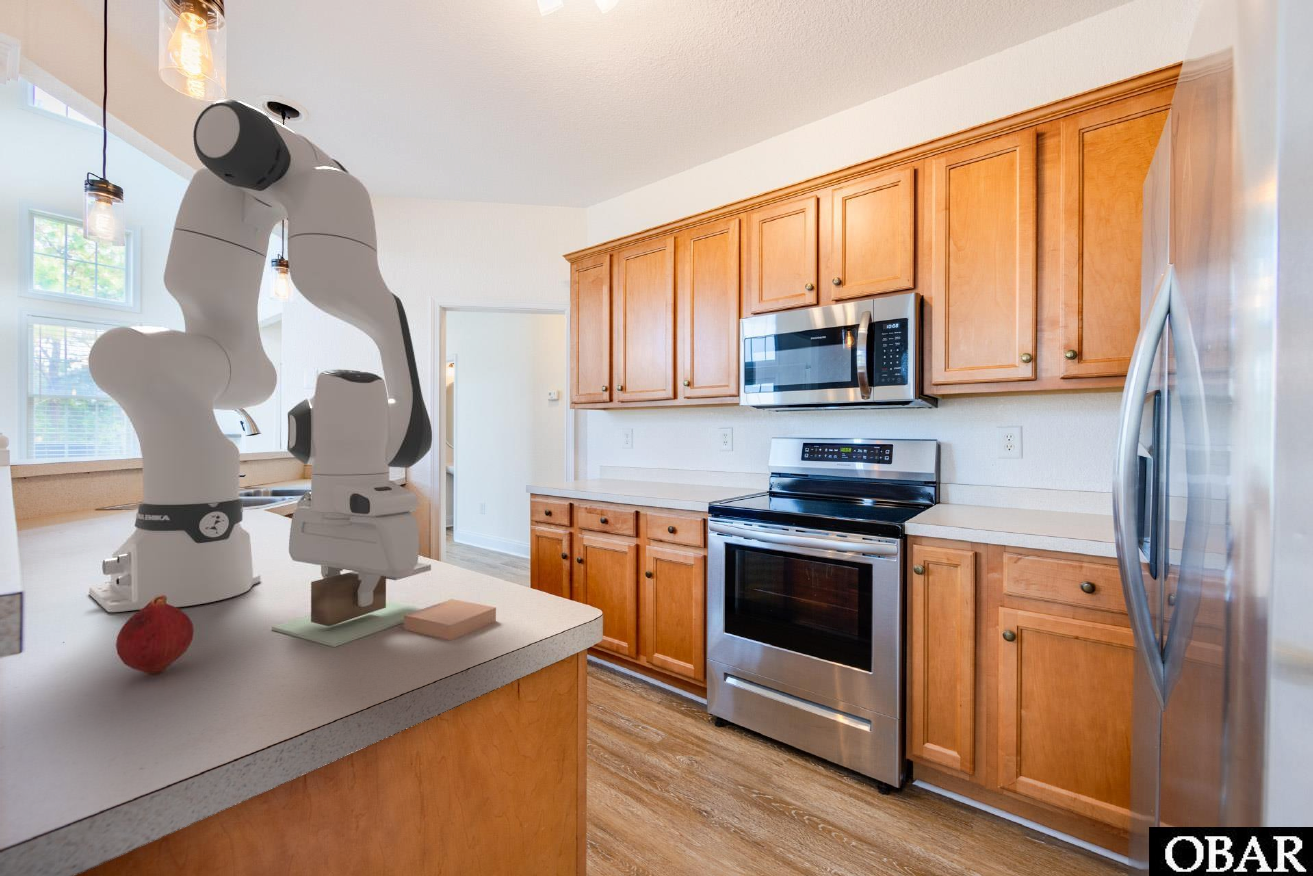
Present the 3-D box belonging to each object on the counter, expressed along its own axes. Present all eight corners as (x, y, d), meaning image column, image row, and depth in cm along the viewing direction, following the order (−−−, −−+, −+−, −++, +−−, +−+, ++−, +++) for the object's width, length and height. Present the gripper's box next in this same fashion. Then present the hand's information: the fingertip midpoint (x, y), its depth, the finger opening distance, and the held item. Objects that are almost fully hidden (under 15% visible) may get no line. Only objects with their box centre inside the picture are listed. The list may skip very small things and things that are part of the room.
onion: (146, 690, 53) (147, 606, 53) (99, 683, 55) (100, 602, 54) (206, 665, 59) (207, 590, 59) (163, 660, 60) (164, 586, 60)
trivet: (271, 629, 70) (271, 626, 70) (371, 600, 82) (371, 597, 82) (334, 647, 65) (334, 643, 65) (430, 613, 77) (430, 610, 77)
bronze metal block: (301, 619, 69) (301, 580, 69) (395, 591, 82) (395, 557, 82) (339, 628, 67) (339, 587, 67) (430, 597, 79) (431, 562, 79)
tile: (404, 615, 71) (451, 599, 78) (403, 631, 71) (451, 614, 78) (450, 625, 68) (496, 607, 75) (450, 642, 68) (495, 623, 75)
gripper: (275, 492, 73) (274, 597, 73) (385, 503, 65) (384, 621, 65) (321, 488, 79) (320, 586, 79) (428, 497, 70) (426, 606, 70)
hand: (350, 602), depth 72 cm, fingers closed on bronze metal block, 3 cm apart
